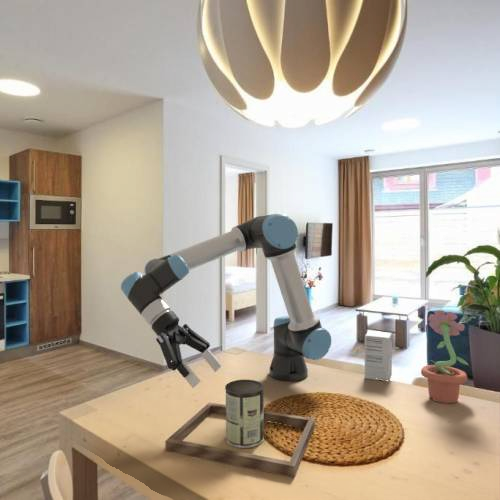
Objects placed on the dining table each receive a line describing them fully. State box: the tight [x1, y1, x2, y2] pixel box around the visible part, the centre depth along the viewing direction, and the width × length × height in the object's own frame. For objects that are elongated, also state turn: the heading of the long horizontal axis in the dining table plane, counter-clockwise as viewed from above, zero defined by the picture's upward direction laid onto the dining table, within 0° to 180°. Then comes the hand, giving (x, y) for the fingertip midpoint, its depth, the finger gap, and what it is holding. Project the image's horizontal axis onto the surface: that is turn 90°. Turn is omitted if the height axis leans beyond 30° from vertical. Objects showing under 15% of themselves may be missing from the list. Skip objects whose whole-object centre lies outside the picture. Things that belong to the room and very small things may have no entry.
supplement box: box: [364, 330, 393, 383], centre depth 151 cm, size 10×9×17 cm
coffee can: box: [224, 379, 265, 449], centre depth 103 cm, size 10×10×14 cm
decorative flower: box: [420, 309, 469, 404], centre depth 129 cm, size 15×14×30 cm
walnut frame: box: [164, 402, 316, 478], centre depth 103 cm, size 33×25×2 cm
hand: (208, 376), depth 106 cm, fingers open, 13 cm apart
